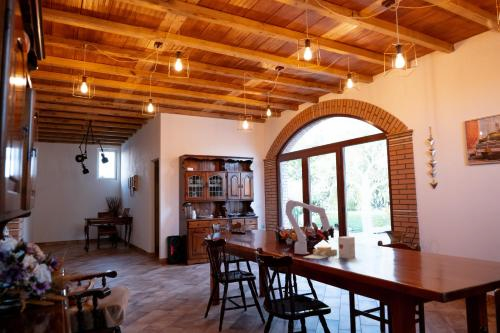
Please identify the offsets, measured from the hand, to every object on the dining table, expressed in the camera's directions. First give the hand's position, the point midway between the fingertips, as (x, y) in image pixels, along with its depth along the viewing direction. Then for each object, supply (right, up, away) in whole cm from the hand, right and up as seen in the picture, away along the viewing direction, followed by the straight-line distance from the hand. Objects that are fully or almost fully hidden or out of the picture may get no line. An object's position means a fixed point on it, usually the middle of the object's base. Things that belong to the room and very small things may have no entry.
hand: (330, 238), depth 282 cm
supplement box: (+9, -10, -18) cm, 22 cm away
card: (-6, -7, -5) cm, 11 cm away
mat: (-14, -11, -14) cm, 23 cm away
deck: (-5, -11, -4) cm, 13 cm away
